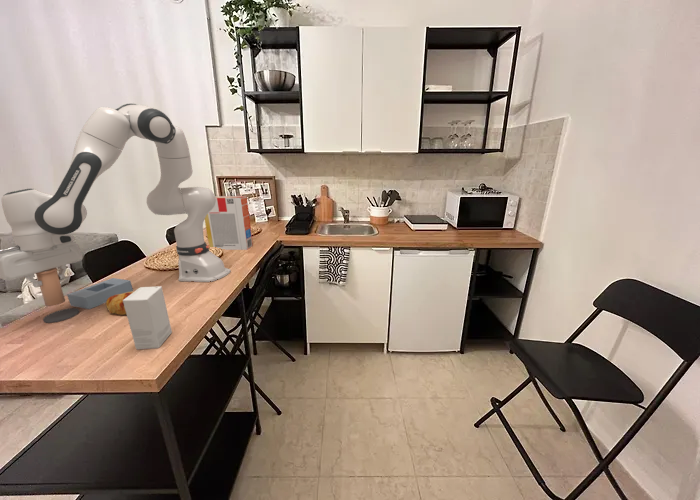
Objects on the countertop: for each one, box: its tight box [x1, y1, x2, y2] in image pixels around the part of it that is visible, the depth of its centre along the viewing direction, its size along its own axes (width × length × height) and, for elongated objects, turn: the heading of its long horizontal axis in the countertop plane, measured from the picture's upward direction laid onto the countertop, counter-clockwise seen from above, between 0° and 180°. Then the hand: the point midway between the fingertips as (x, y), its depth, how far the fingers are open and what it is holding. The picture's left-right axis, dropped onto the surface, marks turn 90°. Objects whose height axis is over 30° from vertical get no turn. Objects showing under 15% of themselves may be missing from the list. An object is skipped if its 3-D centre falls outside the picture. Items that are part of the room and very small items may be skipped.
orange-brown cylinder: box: [34, 268, 66, 307], centre depth 97 cm, size 5×5×12 cm
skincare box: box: [123, 285, 173, 350], centre depth 83 cm, size 8×7×16 cm
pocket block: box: [66, 277, 134, 310], centre depth 113 cm, size 10×16×4 cm, turn 162°
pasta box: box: [204, 195, 254, 251], centre depth 172 cm, size 23×8×30 cm, turn 85°
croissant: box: [105, 291, 134, 316], centre depth 104 cm, size 21×10×8 cm, turn 67°
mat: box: [42, 307, 80, 324], centre depth 101 cm, size 9×9×1 cm
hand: (50, 282), depth 97 cm, fingers closed on orange-brown cylinder, 5 cm apart
